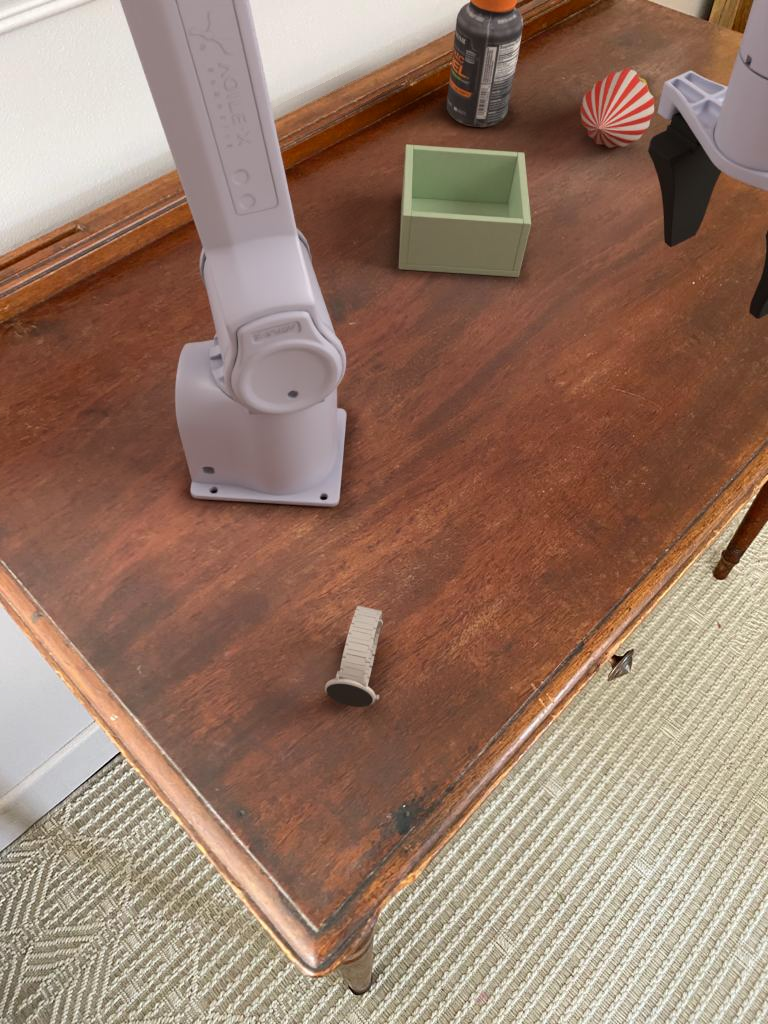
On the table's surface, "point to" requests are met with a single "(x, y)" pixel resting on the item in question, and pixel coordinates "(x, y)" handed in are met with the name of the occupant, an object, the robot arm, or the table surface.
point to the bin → (464, 211)
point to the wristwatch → (357, 660)
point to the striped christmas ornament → (617, 109)
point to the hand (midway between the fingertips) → (720, 272)
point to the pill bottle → (484, 61)
